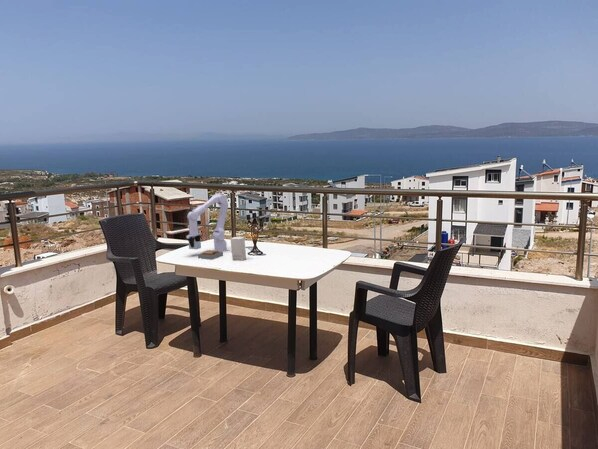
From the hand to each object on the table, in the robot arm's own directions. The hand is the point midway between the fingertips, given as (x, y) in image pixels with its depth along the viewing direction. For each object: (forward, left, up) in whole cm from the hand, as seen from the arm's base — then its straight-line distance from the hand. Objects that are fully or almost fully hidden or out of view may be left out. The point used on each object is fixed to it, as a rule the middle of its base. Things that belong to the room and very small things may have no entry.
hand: (194, 246), depth 318 cm
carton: (0, 0, -1) cm, 1 cm away
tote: (0, +14, -8) cm, 16 cm away
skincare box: (-4, +36, -8) cm, 37 cm away
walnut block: (0, +14, -7) cm, 16 cm away
